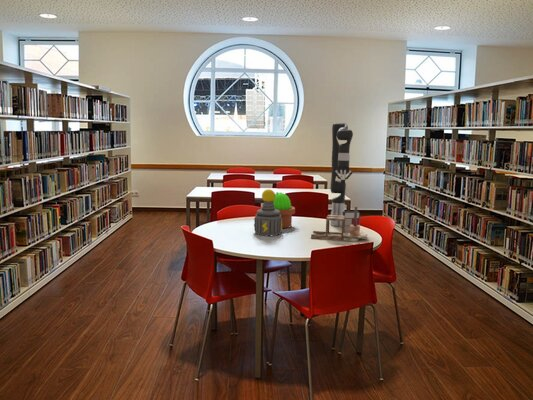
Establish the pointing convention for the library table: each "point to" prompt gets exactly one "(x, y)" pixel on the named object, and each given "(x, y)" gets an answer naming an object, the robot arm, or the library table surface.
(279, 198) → the potted cactus
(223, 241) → the library table surface
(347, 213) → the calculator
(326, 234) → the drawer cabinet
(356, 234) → the cube with grey rod
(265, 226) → the decorative lamp
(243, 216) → the library table surface
